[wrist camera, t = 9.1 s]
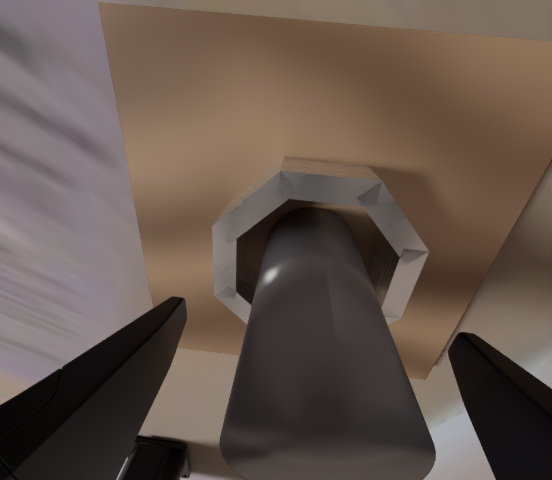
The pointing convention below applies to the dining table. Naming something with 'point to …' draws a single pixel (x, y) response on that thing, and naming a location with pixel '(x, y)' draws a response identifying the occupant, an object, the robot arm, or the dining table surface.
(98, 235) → the dining table surface
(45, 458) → the robot arm
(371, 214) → the aluminium collar
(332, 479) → the grey rounded plug
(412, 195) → the tan square board
